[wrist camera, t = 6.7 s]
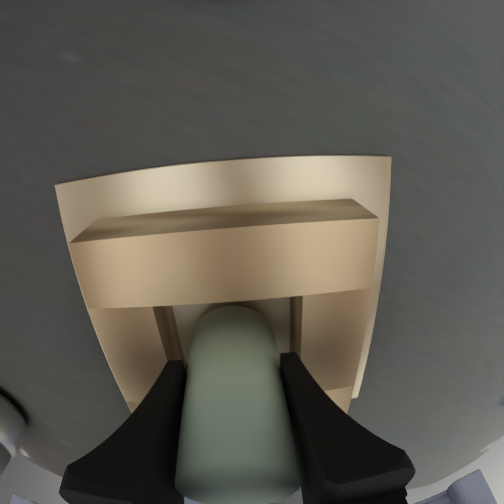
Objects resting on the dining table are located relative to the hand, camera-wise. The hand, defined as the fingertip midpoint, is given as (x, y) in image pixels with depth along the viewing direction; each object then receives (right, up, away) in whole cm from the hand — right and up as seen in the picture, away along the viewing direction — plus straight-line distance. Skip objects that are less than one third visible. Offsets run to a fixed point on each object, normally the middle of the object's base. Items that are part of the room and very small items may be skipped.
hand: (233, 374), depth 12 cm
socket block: (0, +2, +4) cm, 4 cm away
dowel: (0, +1, +3) cm, 3 cm away
